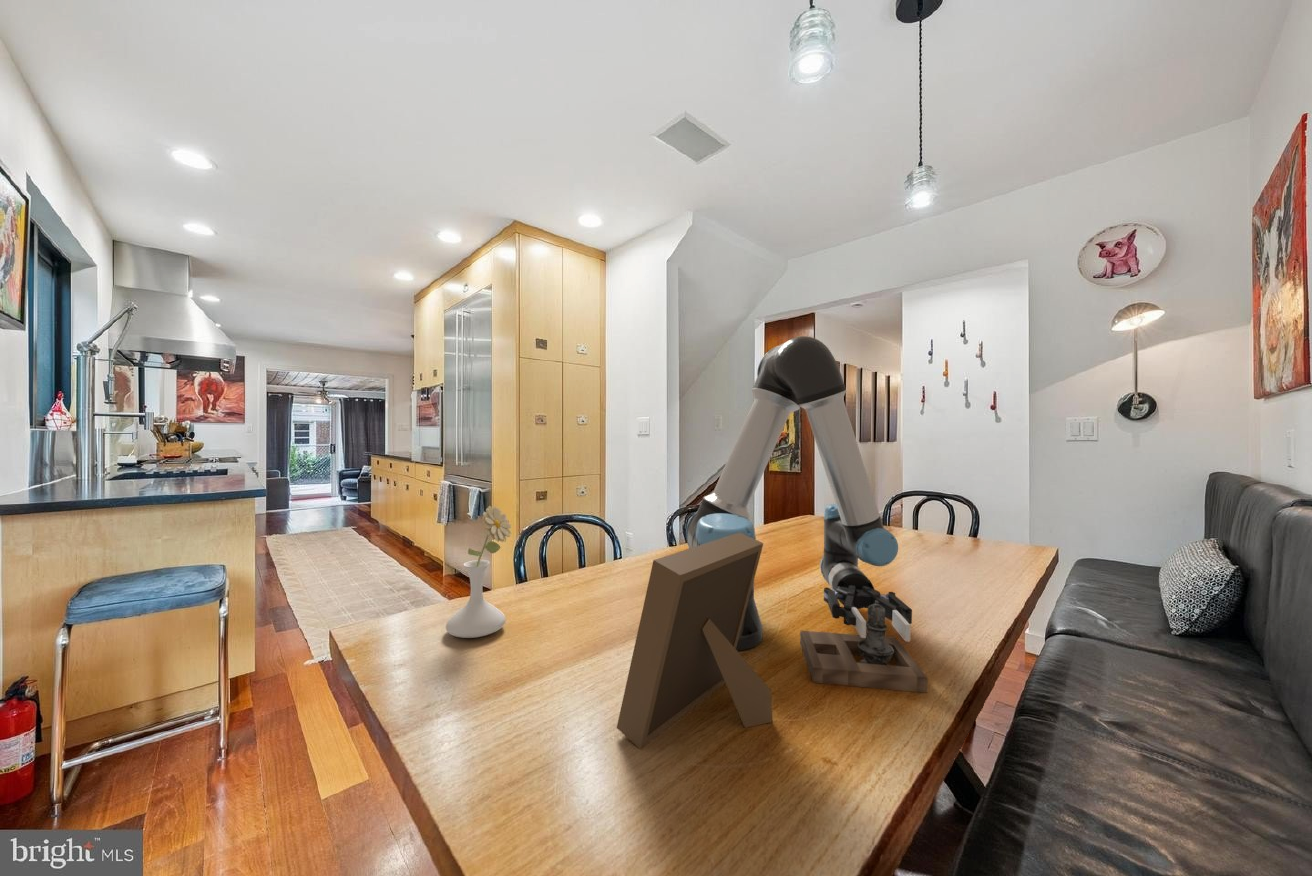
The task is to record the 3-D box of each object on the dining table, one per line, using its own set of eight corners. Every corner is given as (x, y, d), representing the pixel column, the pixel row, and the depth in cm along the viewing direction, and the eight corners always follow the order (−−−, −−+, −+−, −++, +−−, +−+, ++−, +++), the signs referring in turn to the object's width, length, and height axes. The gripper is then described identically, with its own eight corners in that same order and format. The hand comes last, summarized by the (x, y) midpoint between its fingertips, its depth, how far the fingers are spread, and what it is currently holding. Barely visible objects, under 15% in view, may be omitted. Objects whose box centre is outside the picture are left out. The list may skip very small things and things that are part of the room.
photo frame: (616, 735, 65) (621, 551, 64) (705, 672, 81) (710, 527, 81) (708, 790, 55) (715, 576, 54) (788, 707, 72) (794, 542, 71)
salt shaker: (900, 676, 81) (901, 606, 81) (865, 675, 81) (866, 605, 81) (884, 659, 87) (886, 594, 87) (851, 658, 87) (853, 593, 87)
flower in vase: (466, 649, 89) (466, 515, 88) (434, 633, 95) (434, 508, 95) (524, 626, 99) (525, 506, 98) (491, 613, 106) (492, 500, 105)
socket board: (812, 682, 79) (813, 667, 79) (800, 643, 93) (800, 630, 93) (926, 692, 76) (927, 677, 76) (895, 650, 90) (896, 637, 90)
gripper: (898, 606, 100) (947, 659, 78) (803, 600, 103) (824, 649, 80) (899, 571, 100) (949, 613, 77) (804, 565, 103) (825, 604, 80)
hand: (885, 631), depth 79 cm, fingers open, 6 cm apart
